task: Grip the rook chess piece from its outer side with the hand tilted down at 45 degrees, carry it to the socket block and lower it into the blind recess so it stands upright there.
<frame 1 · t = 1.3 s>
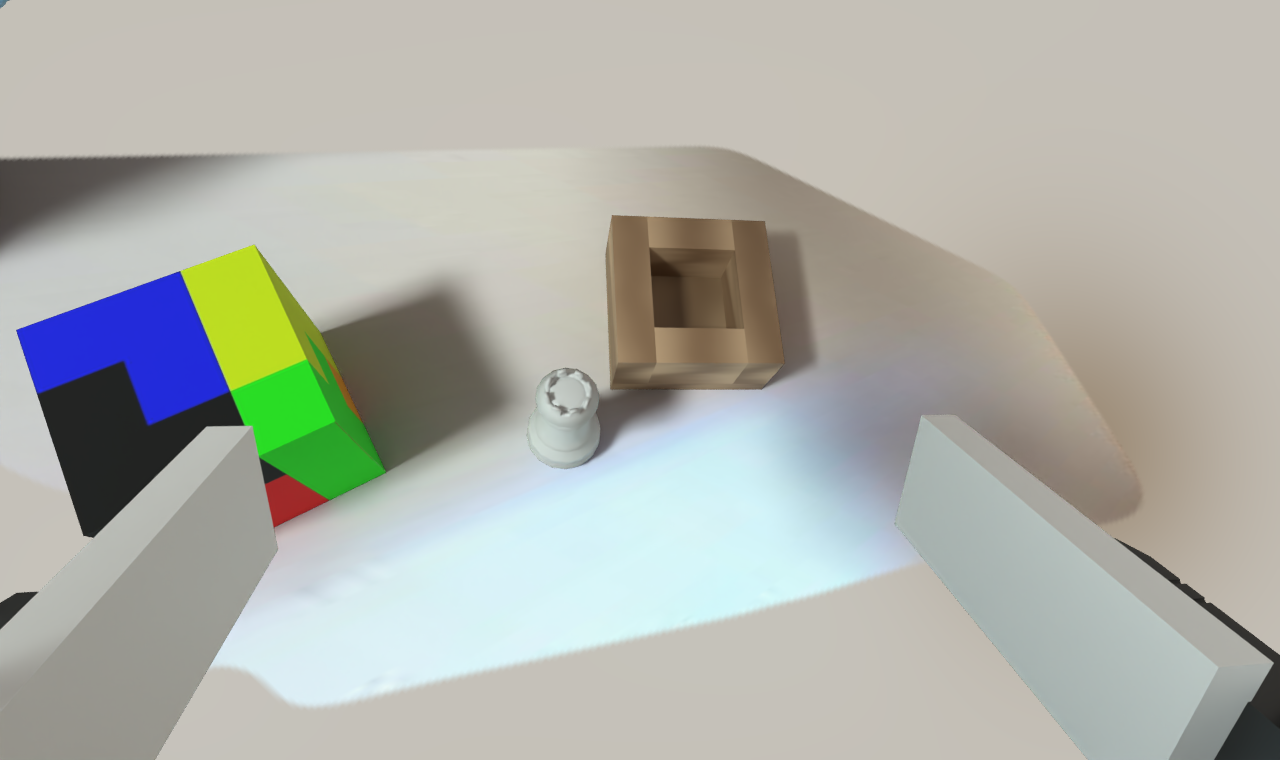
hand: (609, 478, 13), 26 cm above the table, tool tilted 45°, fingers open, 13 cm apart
socket block: (681, 319, 44), on the table
rook chess piece: (563, 436, 40), on the table
puzzle toy: (268, 439, 38), on the table
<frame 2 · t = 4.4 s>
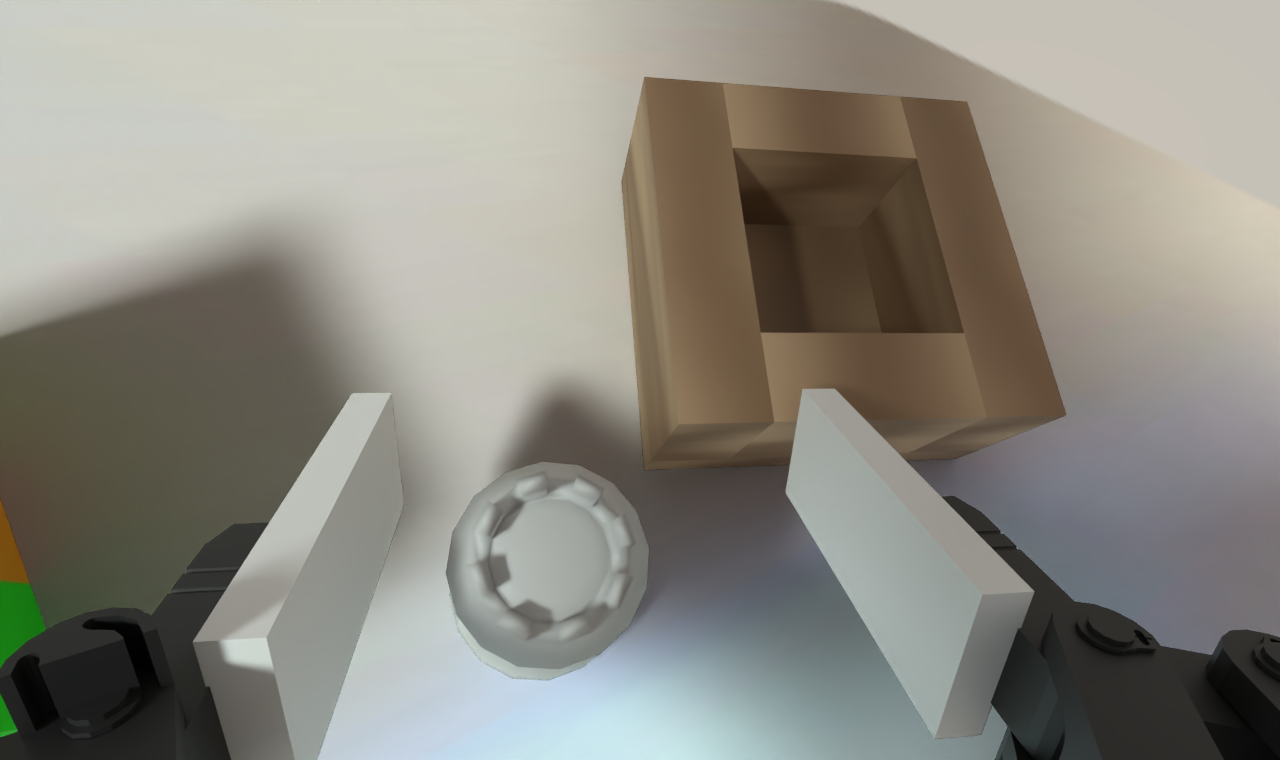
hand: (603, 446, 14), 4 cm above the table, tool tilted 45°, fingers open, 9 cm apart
socket block: (782, 314, 21), on the table
rook chess piece: (540, 587, 17), on the table
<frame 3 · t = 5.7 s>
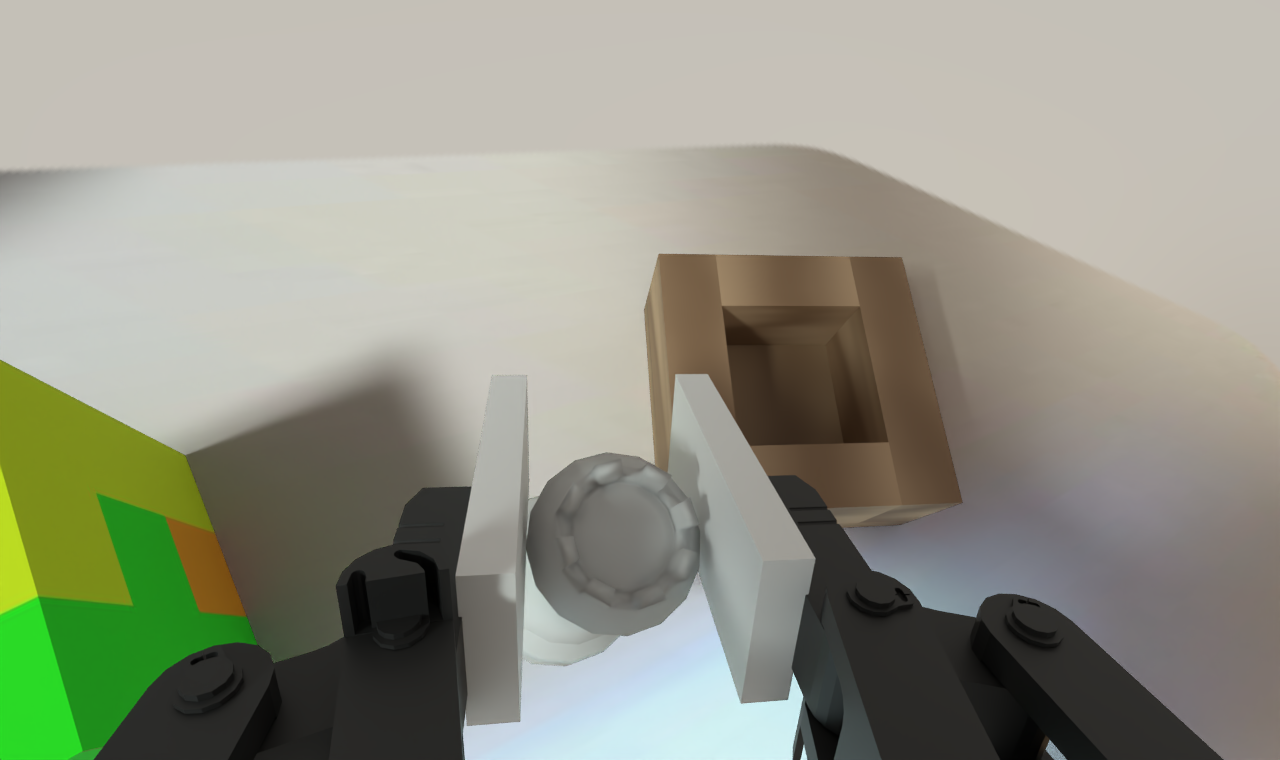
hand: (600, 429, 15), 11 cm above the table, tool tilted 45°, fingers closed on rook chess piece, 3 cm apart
socket block: (766, 412, 28), on the table
rook chess piece: (554, 579, 18), point 6 cm above the table, touching gripper
puzzle toy: (81, 652, 22), on the table
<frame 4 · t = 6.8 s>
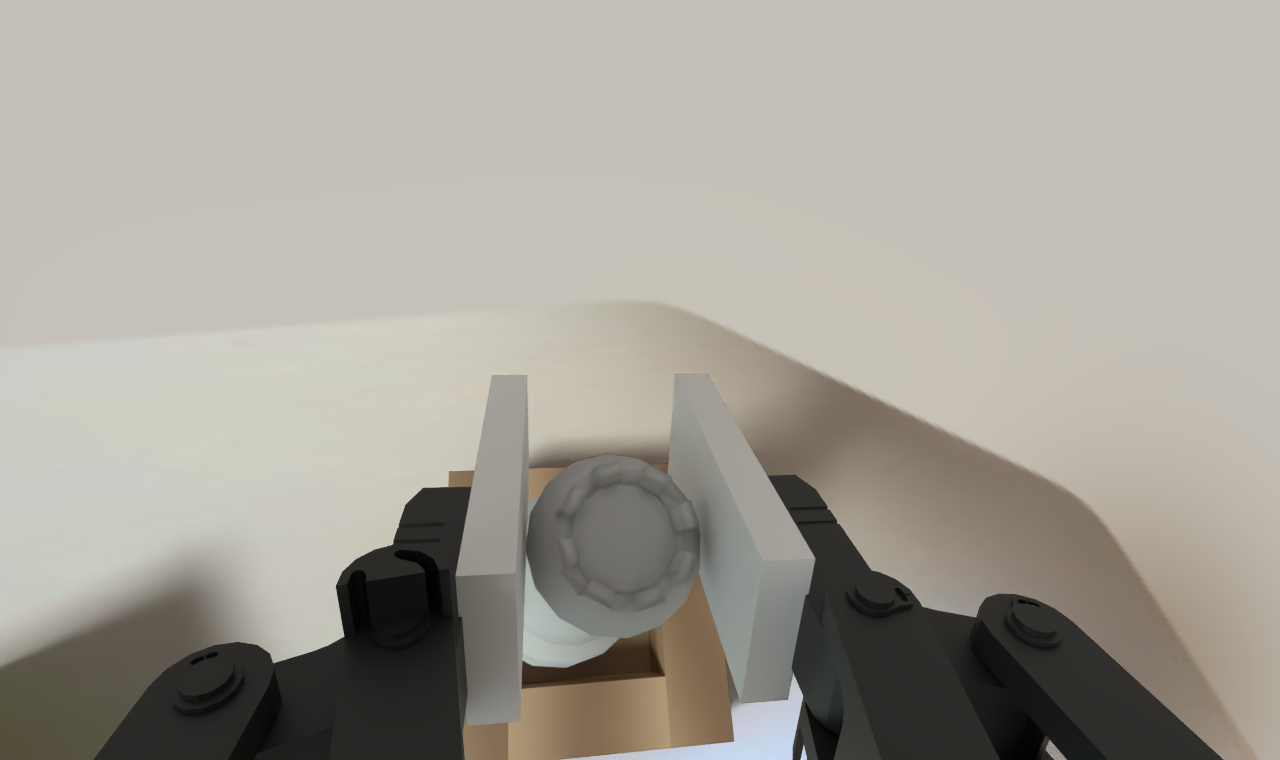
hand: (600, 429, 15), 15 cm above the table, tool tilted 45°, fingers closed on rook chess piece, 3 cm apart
socket block: (579, 605, 28), on the table
rook chess piece: (554, 580, 18), point 10 cm above the table, touching gripper
when the fingers open (6 cm above the table, at t = 9.0 s): rook chess piece stays where it is, resting on socket block.
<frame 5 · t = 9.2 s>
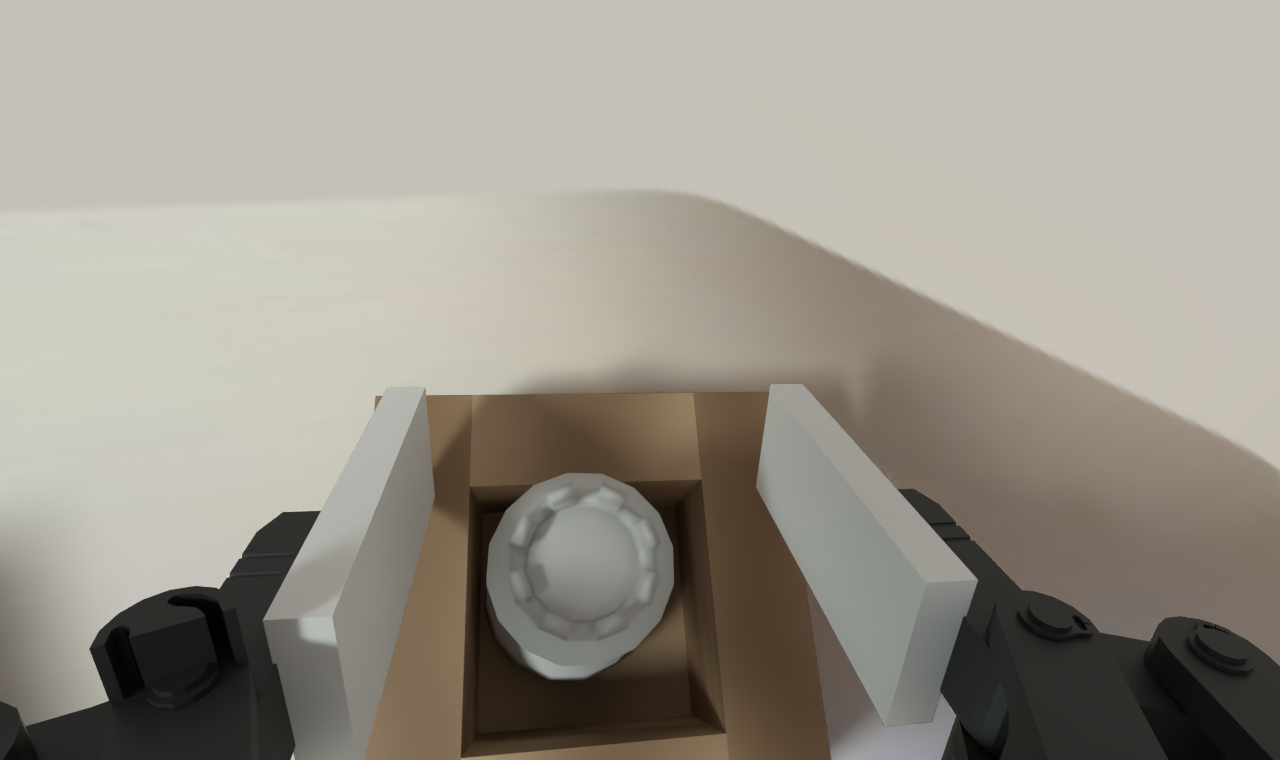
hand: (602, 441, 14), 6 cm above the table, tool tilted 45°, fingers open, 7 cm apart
socket block: (581, 612, 19), on the table
rook chess piece: (568, 591, 18), point 1 cm above the table, touching socket block
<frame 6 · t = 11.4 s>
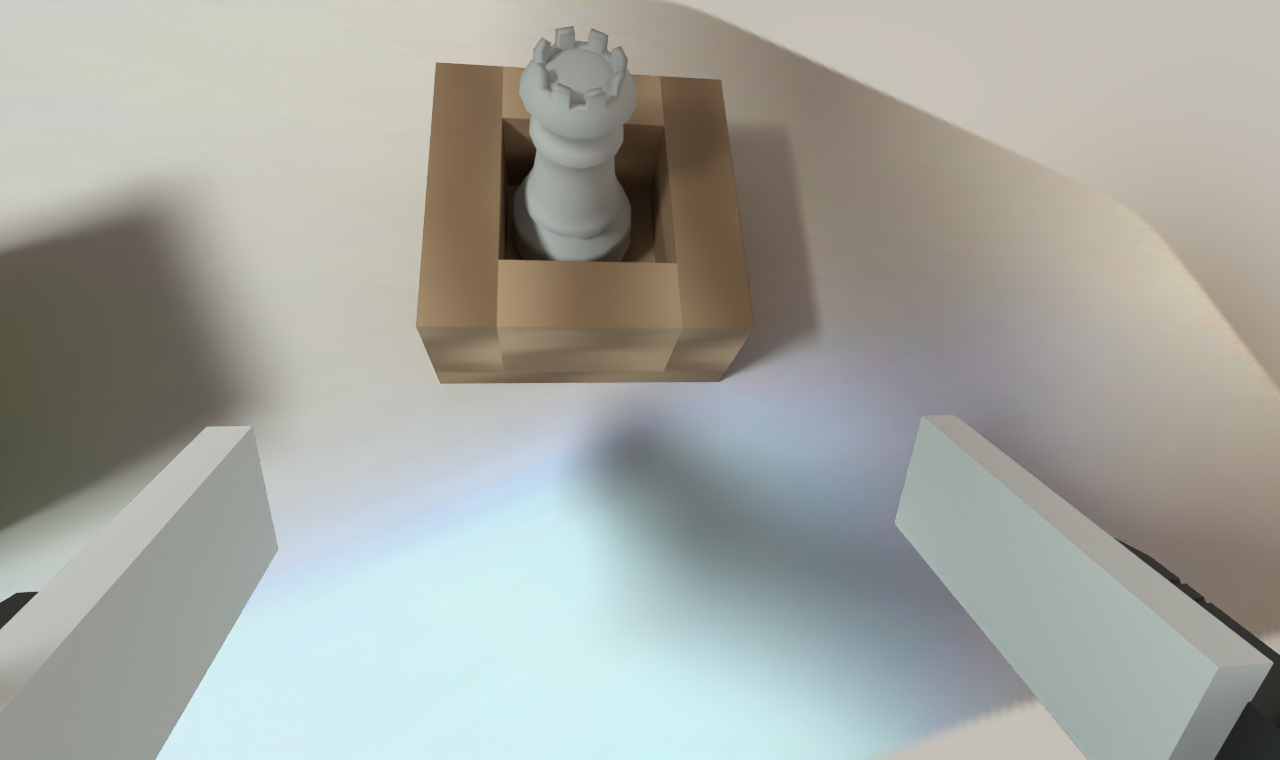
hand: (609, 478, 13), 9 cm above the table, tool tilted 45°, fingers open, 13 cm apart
socket block: (580, 262, 25), on the table
rook chess piece: (570, 238, 25), point 1 cm above the table, touching socket block
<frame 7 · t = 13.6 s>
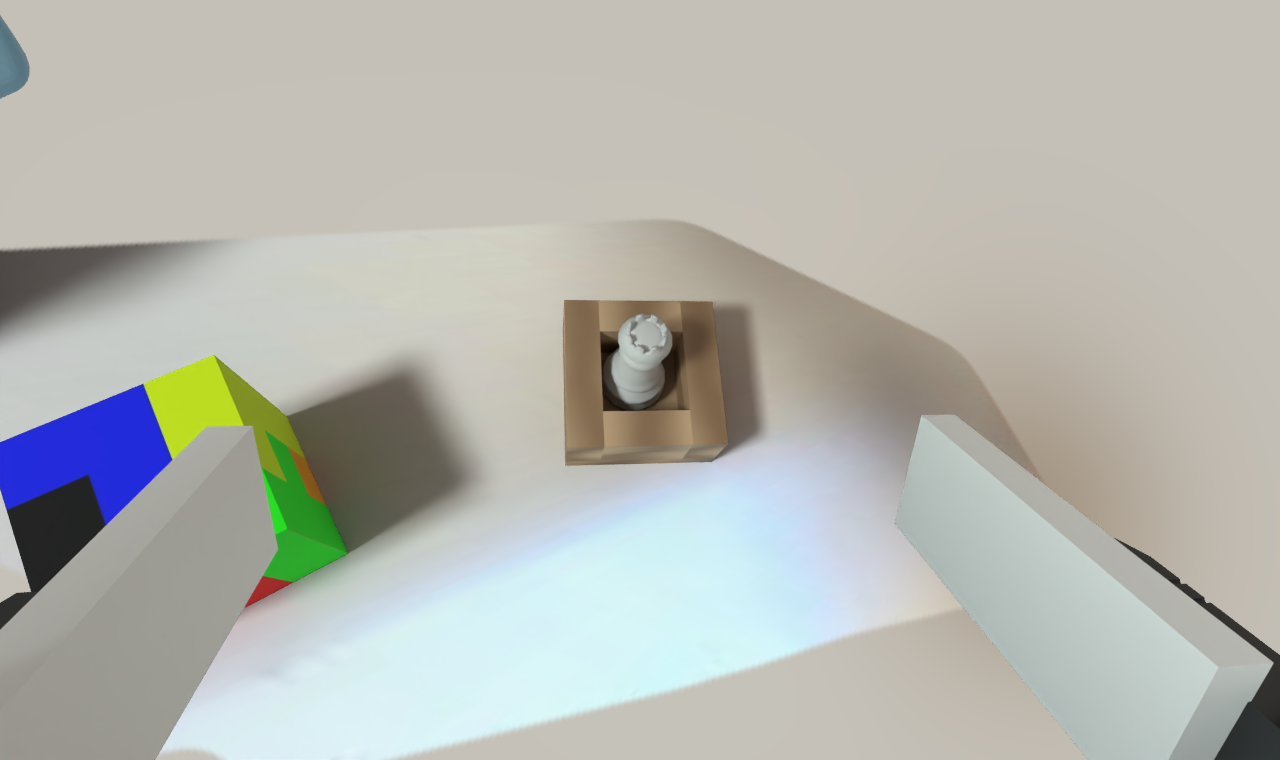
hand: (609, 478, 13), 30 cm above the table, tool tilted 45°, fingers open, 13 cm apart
socket block: (635, 394, 46), on the table
rook chess piece: (630, 383, 45), point 1 cm above the table, touching socket block
puzzle toy: (236, 523, 39), on the table
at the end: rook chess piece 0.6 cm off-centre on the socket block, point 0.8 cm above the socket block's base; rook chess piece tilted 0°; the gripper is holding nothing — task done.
